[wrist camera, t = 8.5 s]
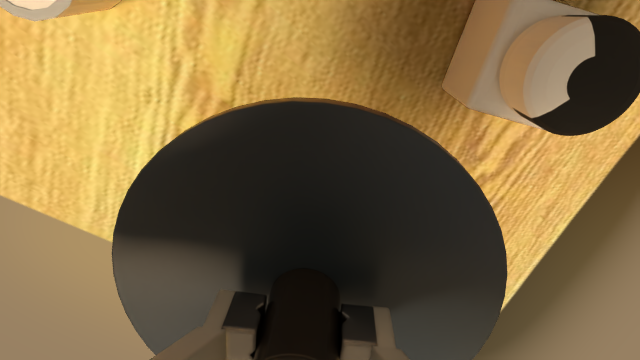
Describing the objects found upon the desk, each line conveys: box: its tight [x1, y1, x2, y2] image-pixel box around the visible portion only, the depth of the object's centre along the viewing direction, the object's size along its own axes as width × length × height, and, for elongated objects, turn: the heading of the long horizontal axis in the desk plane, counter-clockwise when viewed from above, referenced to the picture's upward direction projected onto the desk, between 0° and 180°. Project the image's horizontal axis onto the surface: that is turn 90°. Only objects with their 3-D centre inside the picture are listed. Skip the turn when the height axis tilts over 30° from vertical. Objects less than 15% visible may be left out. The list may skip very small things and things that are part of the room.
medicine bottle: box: [442, 0, 640, 136], centre depth 24 cm, size 7×7×12 cm
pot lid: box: [112, 98, 507, 360], centre depth 12 cm, size 13×13×5 cm
